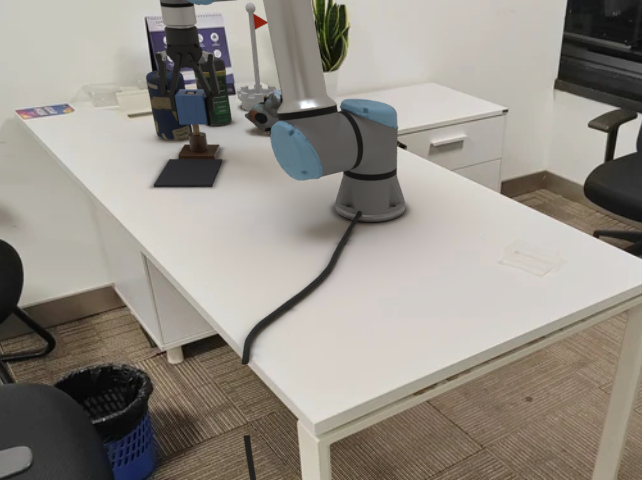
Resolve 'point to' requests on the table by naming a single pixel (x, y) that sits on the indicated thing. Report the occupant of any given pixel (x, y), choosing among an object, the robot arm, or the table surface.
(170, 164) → the mat
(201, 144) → the stand
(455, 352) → the table surface
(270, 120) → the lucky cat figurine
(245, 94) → the flag stand
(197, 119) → the block
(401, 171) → the table surface
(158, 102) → the canister
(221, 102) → the coffee jar
